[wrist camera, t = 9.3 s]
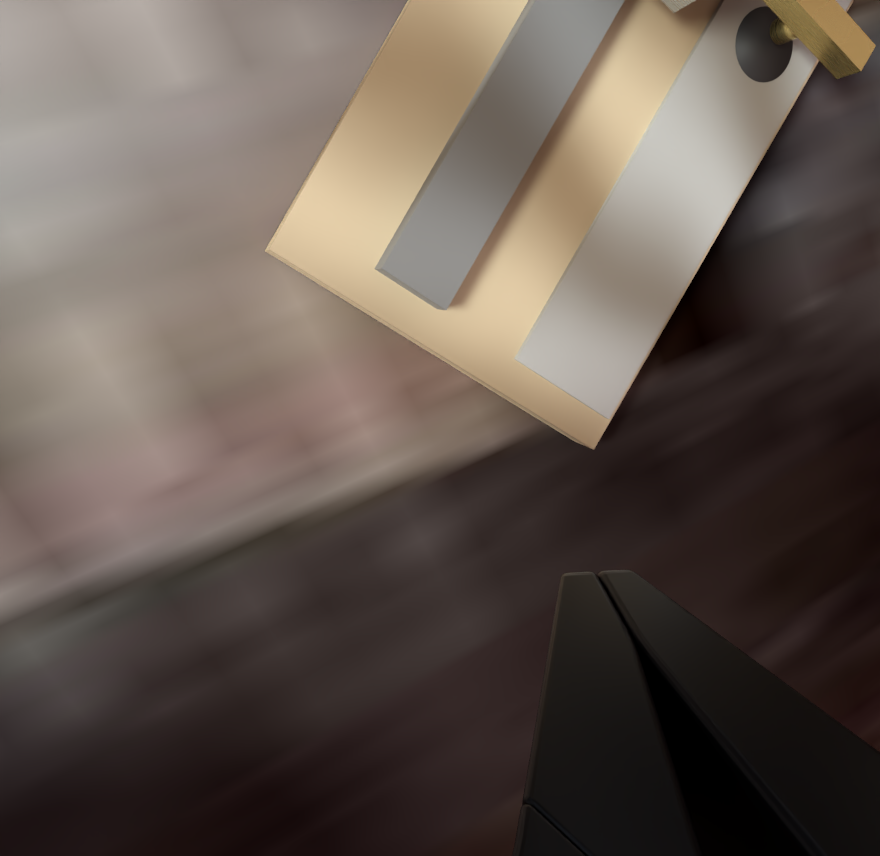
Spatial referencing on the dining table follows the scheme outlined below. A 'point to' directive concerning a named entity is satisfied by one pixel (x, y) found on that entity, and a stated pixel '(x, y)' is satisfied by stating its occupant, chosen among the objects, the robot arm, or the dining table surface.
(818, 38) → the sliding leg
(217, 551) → the dining table surface
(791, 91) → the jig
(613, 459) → the dining table surface
